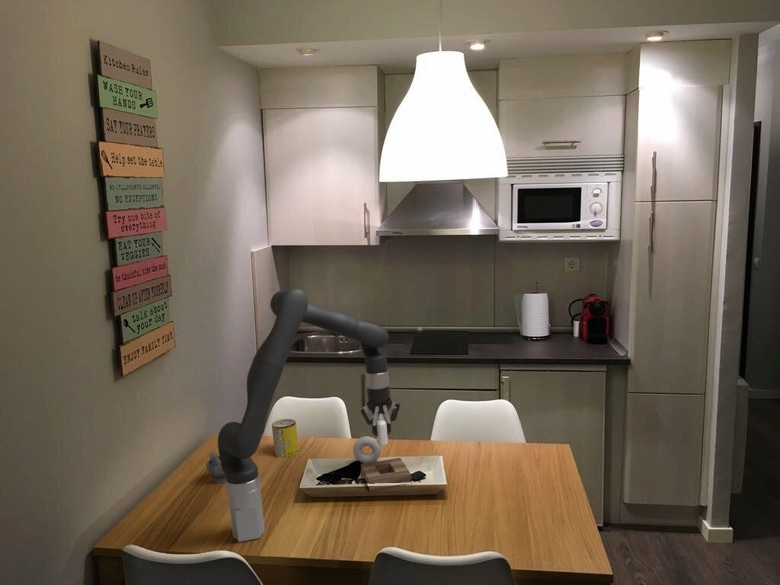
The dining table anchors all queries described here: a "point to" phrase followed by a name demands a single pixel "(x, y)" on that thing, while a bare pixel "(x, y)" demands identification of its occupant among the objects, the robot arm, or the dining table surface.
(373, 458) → the donut
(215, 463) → the mortar and pestle
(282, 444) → the beverage can
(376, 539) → the dining table surface
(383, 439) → the eye dropper bottle
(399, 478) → the walnut socket block
